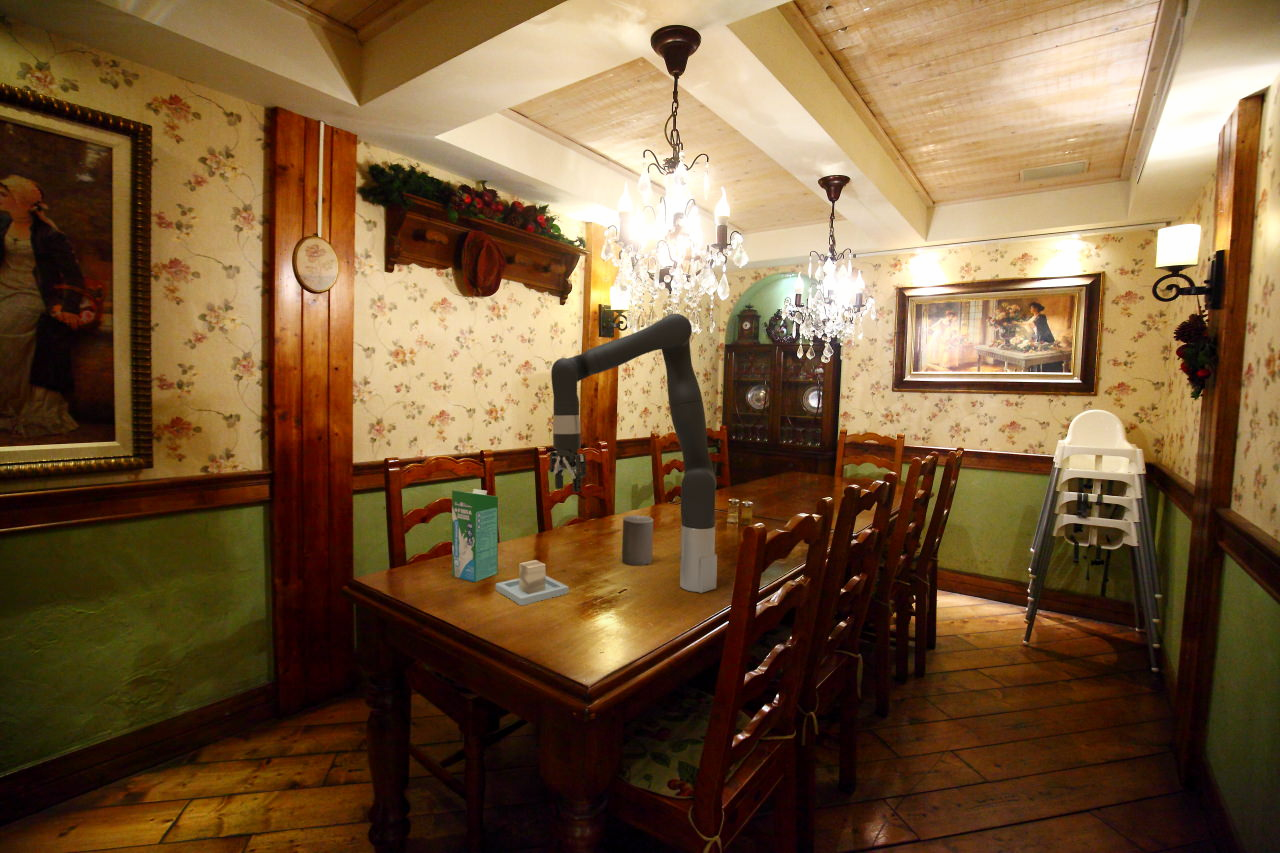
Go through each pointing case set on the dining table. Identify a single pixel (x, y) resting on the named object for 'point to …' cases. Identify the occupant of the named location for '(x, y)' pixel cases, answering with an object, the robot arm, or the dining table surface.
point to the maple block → (532, 576)
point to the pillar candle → (637, 540)
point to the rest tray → (522, 598)
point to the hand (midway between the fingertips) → (567, 490)
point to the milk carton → (474, 535)
